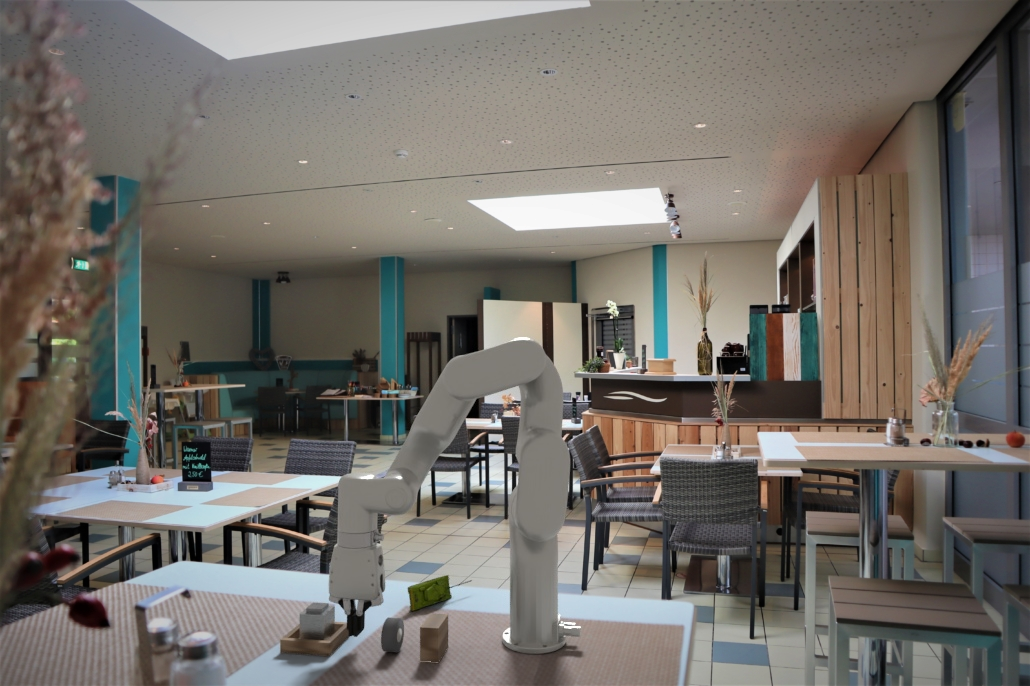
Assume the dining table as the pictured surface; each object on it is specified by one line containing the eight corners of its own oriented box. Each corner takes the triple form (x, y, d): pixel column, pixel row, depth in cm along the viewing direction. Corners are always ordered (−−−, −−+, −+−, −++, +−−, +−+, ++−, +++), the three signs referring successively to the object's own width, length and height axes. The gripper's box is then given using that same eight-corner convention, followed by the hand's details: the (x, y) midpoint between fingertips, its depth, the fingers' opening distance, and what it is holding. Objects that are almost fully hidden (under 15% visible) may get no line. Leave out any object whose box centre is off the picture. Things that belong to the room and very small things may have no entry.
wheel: (404, 644, 136) (404, 613, 136) (394, 657, 130) (394, 625, 130) (391, 643, 136) (391, 612, 136) (380, 656, 130) (380, 624, 130)
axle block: (448, 647, 135) (448, 614, 135) (438, 663, 128) (438, 628, 128) (429, 646, 136) (429, 613, 136) (418, 661, 129) (418, 627, 129)
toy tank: (396, 583, 156) (424, 583, 150) (458, 564, 170) (486, 564, 164) (400, 616, 155) (428, 618, 149) (462, 594, 169) (491, 595, 162)
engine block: (334, 636, 139) (334, 602, 139) (324, 646, 134) (324, 611, 134) (311, 634, 140) (311, 600, 140) (299, 645, 135) (299, 609, 135)
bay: (350, 635, 141) (350, 622, 141) (329, 656, 131) (329, 643, 131) (304, 631, 143) (304, 619, 143) (280, 652, 133) (280, 639, 133)
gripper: (400, 535, 137) (399, 629, 137) (329, 531, 139) (327, 623, 139) (387, 546, 130) (385, 645, 129) (312, 541, 132) (310, 638, 132)
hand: (355, 633), depth 134 cm, fingers closed
